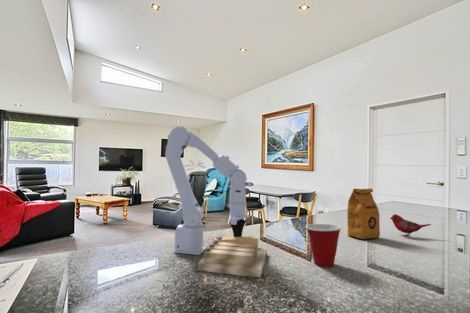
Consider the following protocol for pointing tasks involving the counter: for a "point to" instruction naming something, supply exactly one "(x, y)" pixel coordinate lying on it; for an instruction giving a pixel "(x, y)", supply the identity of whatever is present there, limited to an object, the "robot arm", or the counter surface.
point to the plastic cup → (324, 243)
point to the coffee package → (363, 215)
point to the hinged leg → (239, 240)
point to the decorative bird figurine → (406, 225)
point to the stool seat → (233, 259)
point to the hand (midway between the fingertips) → (237, 240)
